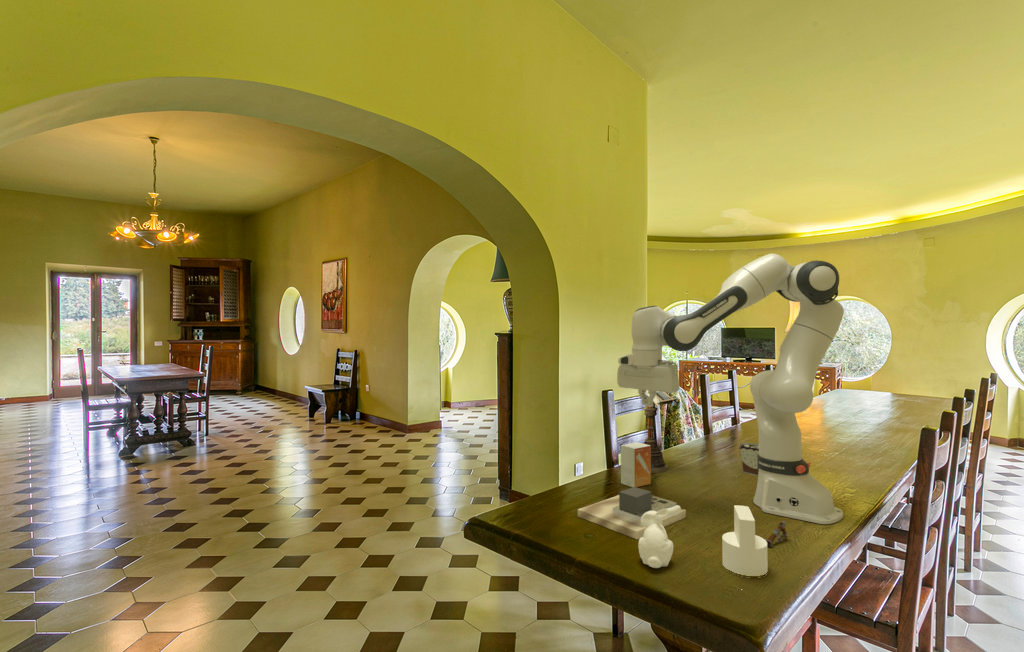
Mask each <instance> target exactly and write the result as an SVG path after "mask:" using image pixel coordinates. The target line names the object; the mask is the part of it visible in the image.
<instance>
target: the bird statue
mask: <svg viewBox="0 0 1024 652" xmlns="http://www.w3.org/2000/svg"><path fill="white" fill-rule="evenodd" d="M645 395H646V397H647V398H649V396H650V394H649V393H648V390H646V393H645ZM677 400H678V397H674V398H673V397H672V396H671V395H669V394H668V392H659V391H656V396H655V397H654V399H653V405H645V406H644V407H643V410H644V416H646V418H647V426H646V428H647V436H646V437H645V439H644V440H643V441H644V442H643V444H647V445H650V446H651V473H654V474H656V473H657V474H658V473H659V474H660V473H663V472H667V471H669V469H668V464H667V463H666V462H665V459H664V457H663V455H664V454H663V452H662V450H661V449H660V448H659V446H658V445H659V444H658V443H657V439H656V438H655V437H654V429H655V427H654V423H655V422H654V419H655V417H656V416H657V415H658V412H657V411H658V408H659V406H660V405H661V406H663V405H670V404H673V403H676V404H678V401H677Z"/></svg>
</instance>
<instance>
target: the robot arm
mask: <svg viewBox="0 0 1024 652" xmlns="http://www.w3.org/2000/svg"><path fill="white" fill-rule="evenodd" d="M839 286H840V273H839V271H838V269H837V268H836V266H834V265H833V264H832V263H830V262H828V261H825V260H819V259H817V260H816V259H815V260H811V261H808V262H807V261H806V262H802V263H799V264H797V265H796V264H795V265H793V264H792V265H791V264H790V263H788V261H787V260H786V259H785V258H784V257H783V256H782V255H779V254H777V253H768V254H765V255H763V256H760V257H758V258H756V259H754V260H752V261H750V262H748V263H747V264H745V265H743V266H742V267H740V268H739V269H737V270H736V271H734V272H733V273H732V274H730V275H729V276H728V277H727V278H726V279H725V280H724V281H723V282H722V283H721V286H720V291H719V293H718V294H717V295H716V296H715V297H714V298H712V299H710V300H709V301H708V302H707V303H705V304H704V305H702V306H701V307H699V308H698V309H696V310H695V311H693V312H691V313H689V314H681V315H675V314H672V313H670V312H668V311H666V310H664V309H662V308H661V307H660V306H657V305H649V306H644V307H640V308H637V309H636V310H635V311H634V312H633V314H632V318H631V319H632V320H631V338H632V347H631V353H629V354H626V355H623V356H620V357H619V358H618V360H617V362H618V364H619V366H618V367H617V373H616V374H617V377H616V378H617V379H616V382H617V386H618V387H619V388H624V389H632V390H633V389H634V390H638V391H637V393H638V395H639V397H640V398H641V405H643V406H644V405H645V406H646V405H653V399H654V397H655V396H656V391H659V392H666V393H670V394H671V393H677V392H678V391H679V390H680V379H679V374H678V373H679V370H678V369H679V367H678V364H676V362H674V361H673V360H665V359H663V347H664V346H665V347H666V346H667V347H669V348H670V349H672V350H675V351H678V352H687V351H690V350H691V351H692V349H694V348H696V346H697V345H698V344H699V343H700V342H701V340H702V338H703V337H704V336H705V334H706V333H707V332H708V331H709V330H710V329H712V328H713V327H715V326H716V325H718V324H719V323H720V322H721V321H723V320H725V319H726V318H728V317H729V316H731V315H732V314H734V313H736V312H739V311H741V310H744V309H747V308H750V307H751V306H753V305H755V304H757V303H759V302H760V301H762V300H763V299H766V297H768V296H770V295H771V294H773V293H775V292H776V293H777V294H779V295H780V296H781V297H783V298H784V299H786V300H787V301H791V302H795V303H797V302H799V310H798V315H797V316H796V318H795V320H794V321H793V323H792V325H791V326H790V328H789V330H788V332H787V334H786V335H785V337H784V339H783V340H782V342H781V345H780V346H779V354H778V355H779V356H778V359H777V363H776V366H775V369H774V370H772V369H769V370H764V371H760V372H758V373H756V374H755V375H754V376H753V377H752V378H751V380H750V384H749V390H750V392H751V395H752V399H753V404H754V405H753V406H754V411H755V417H756V421H757V429H758V431H757V432H758V444H759V454H758V455H757V470H758V476H757V485H756V488H755V494H754V497H753V500H752V501H753V503H754V504H755V505H756V506H757V507H759V508H760V509H761V511H762V512H763V513H767V514H771V515H775V516H781V517H785V518H789V519H795V520H799V521H806V522H811V523H815V524H819V525H830V524H834V523H837V522H840V521H841V520H842V519H843V518H844V512H843V509H841V508H839V507H836V506H835V505H834V504H835V503H834V498H833V495H832V493H831V491H830V489H829V488H827V486H825V485H824V484H822V483H821V482H820V481H819V480H818V479H816V478H815V477H814V476H813V475H812V474H811V473H810V467H811V466H812V465H811V464H812V463H811V462H810V461H809V462H808V463H807V462H806V461H805V460H804V459H803V458H802V431H801V428H800V426H799V423H798V421H797V417H796V414H799V413H802V412H804V411H806V410H807V409H809V408H810V406H811V405H812V403H813V402H814V401H813V400H814V392H813V387H814V383H815V379H816V376H817V373H818V369H819V366H820V364H821V362H822V361H823V359H824V357H825V355H826V354H827V352H828V349H829V347H830V346H831V344H832V343H833V341H834V339H835V337H836V335H837V333H838V331H839V329H840V326H841V324H842V320H843V317H844V314H845V313H844V312H845V310H844V309H845V308H844V306H843V305H842V304H841V303H840V302H839V301H838V300H837V299H836V298H838V295H839ZM646 390H648V393H649V394H650V396H649V398H648V396H647V395H646V394H645V393H646Z"/></svg>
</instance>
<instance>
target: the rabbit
mask: <svg viewBox="0 0 1024 652" xmlns="http://www.w3.org/2000/svg"><path fill="white" fill-rule="evenodd" d="M681 509H682V508H681V505H678V504H676V506H674V507H671V508H668V509H661V510H659V511H658V512H656V511H648V512H646V513H644V514H643V515H642V517H641V524H642V525H644V526H646V528H645V530H644V535H643V537H641V538H640V539H638V543H637V544H638V545H637V548H638V553H639V557H640V558H641V561H642V563H643V564H644V565H647V566H648V567H651V568H653V569H660V568H663V567H668V566H669V563H670V561H671V559H672V557H673V552H674V543H673V541H672V540H670V539H669V537H668V534H667V531H666V530H667V529H665V528H666V527H663V526H662V518H665V517H669V516H675V515H677V514H679V513H680V511H681Z"/></svg>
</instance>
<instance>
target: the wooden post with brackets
mask: <svg viewBox="0 0 1024 652" xmlns="http://www.w3.org/2000/svg"><path fill="white" fill-rule="evenodd" d="M786 524H787V523H786V521H779V523H778V525H777V527H776V528H774V530H773V531H772V532H771V535H769V536H768V537H767V538H763V539H764V540H766V542H767V547H770V548H773V547H774V546H773V543H774V541H775V539H777V542H778V543H782V542H783V541H785V539H787V538H789V537H788V536H789V535H788V533H787V531H786V526H787V525H786ZM781 532H782V534H781Z"/></svg>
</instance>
